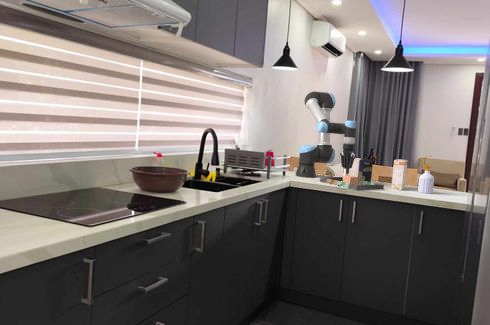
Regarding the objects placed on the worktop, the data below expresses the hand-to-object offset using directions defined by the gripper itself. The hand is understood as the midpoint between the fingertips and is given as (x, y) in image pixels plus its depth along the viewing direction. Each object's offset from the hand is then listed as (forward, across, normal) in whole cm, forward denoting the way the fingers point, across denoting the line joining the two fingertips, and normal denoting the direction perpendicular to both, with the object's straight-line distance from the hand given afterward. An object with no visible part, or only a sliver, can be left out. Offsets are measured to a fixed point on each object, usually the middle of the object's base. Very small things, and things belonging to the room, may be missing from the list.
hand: (345, 178), depth 293 cm
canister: (+4, -5, +23) cm, 24 cm away
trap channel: (+4, +5, 0) cm, 7 cm away
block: (+4, +4, 0) cm, 6 cm away
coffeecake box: (+4, +20, +29) cm, 36 cm away
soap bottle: (+5, +36, +36) cm, 51 cm away
